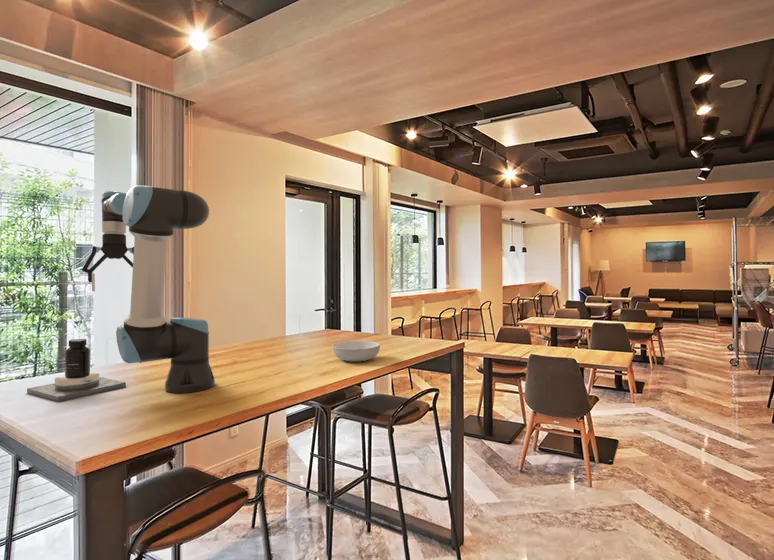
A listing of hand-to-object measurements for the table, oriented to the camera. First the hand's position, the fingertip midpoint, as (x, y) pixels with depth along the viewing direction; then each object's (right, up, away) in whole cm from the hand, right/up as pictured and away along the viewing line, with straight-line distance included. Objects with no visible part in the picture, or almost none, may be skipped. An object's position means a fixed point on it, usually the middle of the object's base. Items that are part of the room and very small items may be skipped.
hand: (115, 290), depth 166 cm
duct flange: (0, -32, -20) cm, 38 cm away
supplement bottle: (0, -28, -20) cm, 34 cm away
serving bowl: (+88, -31, +27) cm, 97 cm away
